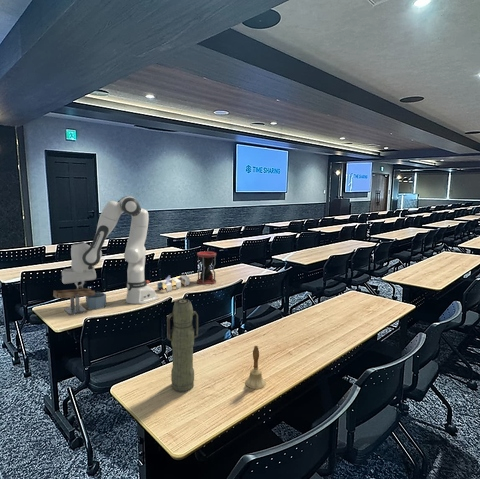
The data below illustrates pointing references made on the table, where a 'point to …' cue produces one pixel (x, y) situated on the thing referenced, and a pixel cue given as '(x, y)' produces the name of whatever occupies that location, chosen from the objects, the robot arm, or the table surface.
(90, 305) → the blue-grey box
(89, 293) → the lever
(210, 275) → the hourglass
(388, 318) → the table surface
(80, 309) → the lever stand
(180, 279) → the diorama
